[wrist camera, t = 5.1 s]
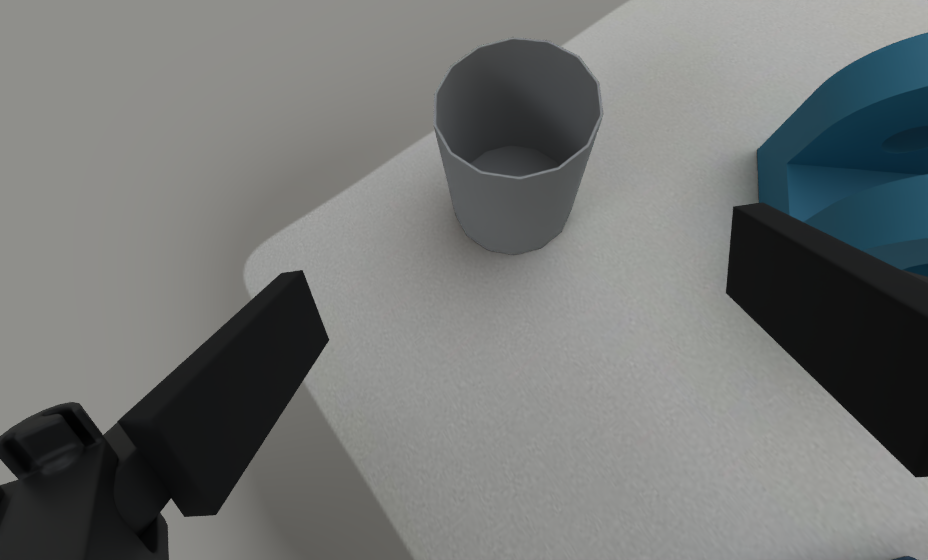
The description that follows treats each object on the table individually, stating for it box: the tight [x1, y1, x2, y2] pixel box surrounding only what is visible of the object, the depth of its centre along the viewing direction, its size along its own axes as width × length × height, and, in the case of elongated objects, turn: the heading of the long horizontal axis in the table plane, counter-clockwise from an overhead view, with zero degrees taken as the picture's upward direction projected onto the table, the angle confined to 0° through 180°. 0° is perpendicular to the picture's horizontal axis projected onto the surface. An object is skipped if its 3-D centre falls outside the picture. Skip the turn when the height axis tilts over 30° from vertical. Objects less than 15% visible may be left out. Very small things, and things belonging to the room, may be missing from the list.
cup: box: [434, 37, 603, 255], centre depth 26 cm, size 8×8×10 cm
